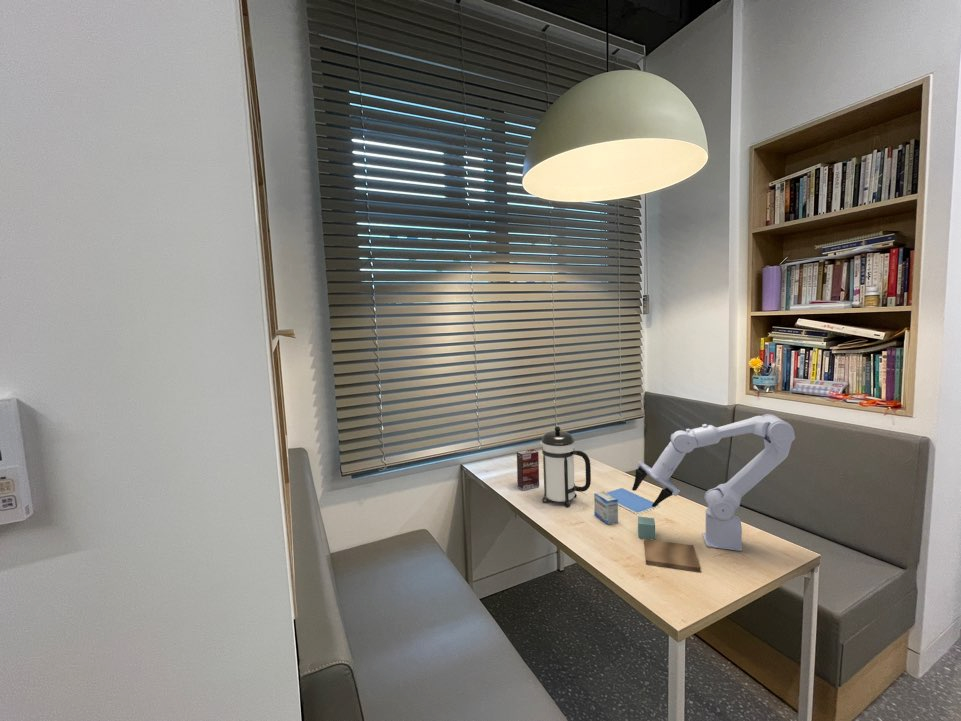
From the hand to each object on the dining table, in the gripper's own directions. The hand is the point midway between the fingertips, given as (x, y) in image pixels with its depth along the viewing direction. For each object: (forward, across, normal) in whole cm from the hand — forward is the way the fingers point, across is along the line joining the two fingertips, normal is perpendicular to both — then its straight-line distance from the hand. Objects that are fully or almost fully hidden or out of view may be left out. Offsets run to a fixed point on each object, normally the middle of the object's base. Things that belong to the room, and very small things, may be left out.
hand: (643, 498), depth 131 cm
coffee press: (+25, -26, +9) cm, 37 cm away
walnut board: (+7, +16, -4) cm, 18 cm away
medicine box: (+17, -7, +5) cm, 19 cm away
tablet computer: (+13, -9, +23) cm, 28 cm away
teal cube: (+10, +6, +3) cm, 13 cm away
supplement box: (+33, -43, +10) cm, 55 cm away
